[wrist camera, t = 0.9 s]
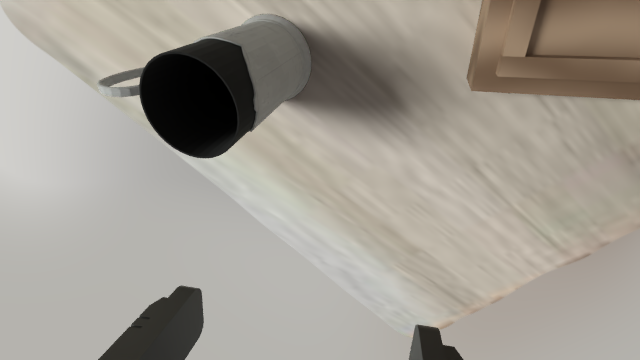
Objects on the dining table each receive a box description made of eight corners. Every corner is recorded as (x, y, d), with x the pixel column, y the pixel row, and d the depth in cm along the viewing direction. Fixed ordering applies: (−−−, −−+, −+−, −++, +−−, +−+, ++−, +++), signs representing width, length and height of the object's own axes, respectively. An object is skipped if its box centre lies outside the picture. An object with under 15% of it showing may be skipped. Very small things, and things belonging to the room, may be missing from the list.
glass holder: (311, 105, 37) (253, 174, 25) (193, 92, 40) (89, 147, 28) (311, 16, 32) (241, 46, 20) (179, 8, 35) (46, 30, 23)
